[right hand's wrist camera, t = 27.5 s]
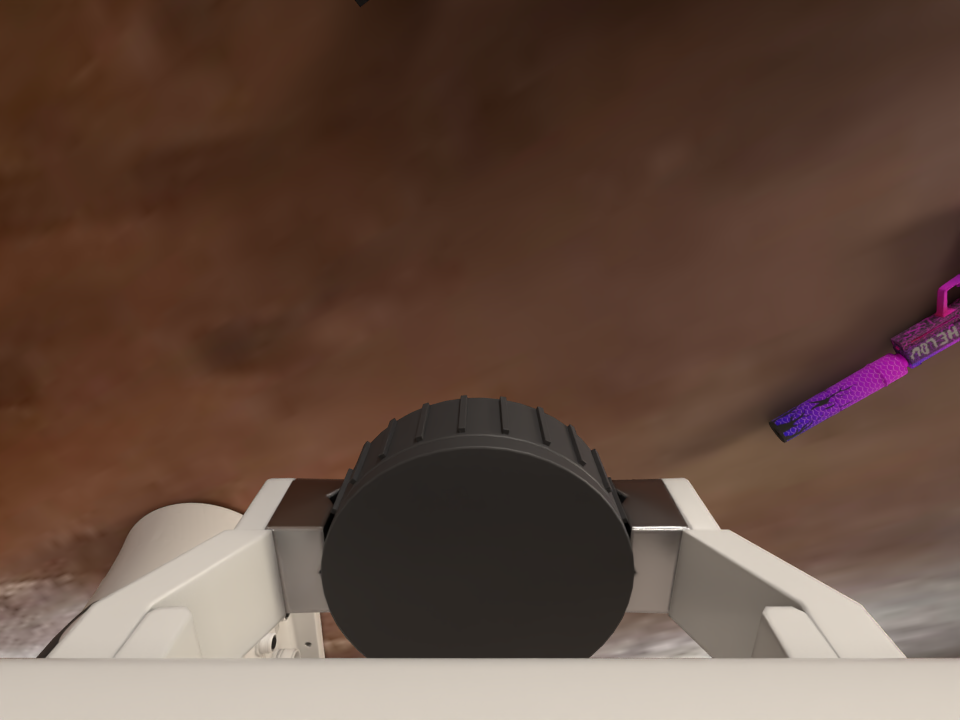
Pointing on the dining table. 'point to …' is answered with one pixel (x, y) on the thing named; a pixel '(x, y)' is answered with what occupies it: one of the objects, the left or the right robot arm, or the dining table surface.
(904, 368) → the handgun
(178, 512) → the right robot arm
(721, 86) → the dining table surface
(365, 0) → the left robot arm
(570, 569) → the lid
